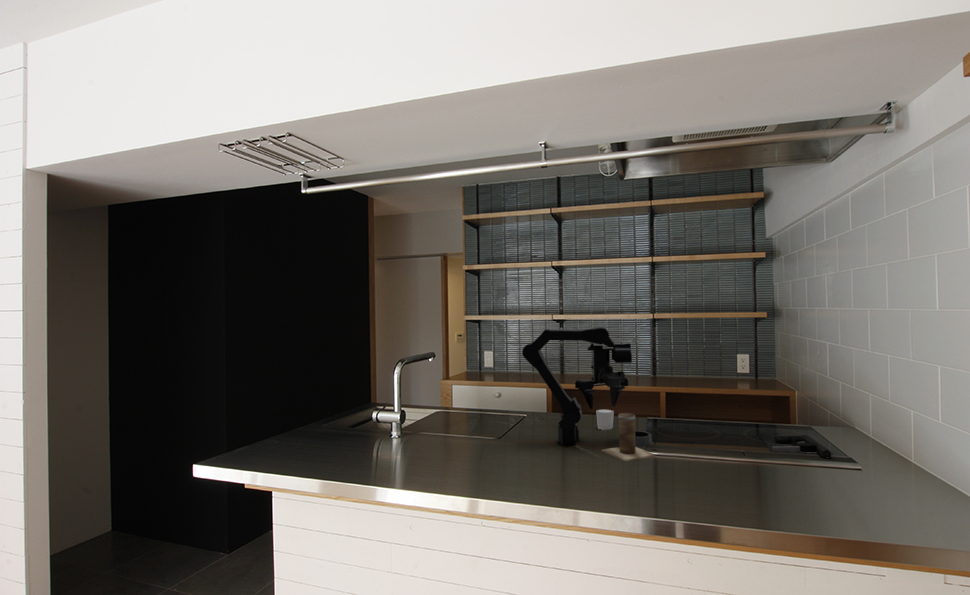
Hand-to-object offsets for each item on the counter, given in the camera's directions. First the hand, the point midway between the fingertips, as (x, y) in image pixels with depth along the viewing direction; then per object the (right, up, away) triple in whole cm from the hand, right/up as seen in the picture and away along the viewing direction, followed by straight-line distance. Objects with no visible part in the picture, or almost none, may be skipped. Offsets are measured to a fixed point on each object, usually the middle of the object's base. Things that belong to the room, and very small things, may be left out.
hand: (602, 407), depth 183 cm
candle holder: (+12, -13, -2) cm, 17 cm away
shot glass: (+6, -13, +23) cm, 27 cm away
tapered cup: (+5, -11, -14) cm, 19 cm away
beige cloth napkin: (+5, -13, -14) cm, 20 cm away
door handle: (+62, -12, -10) cm, 64 cm away
